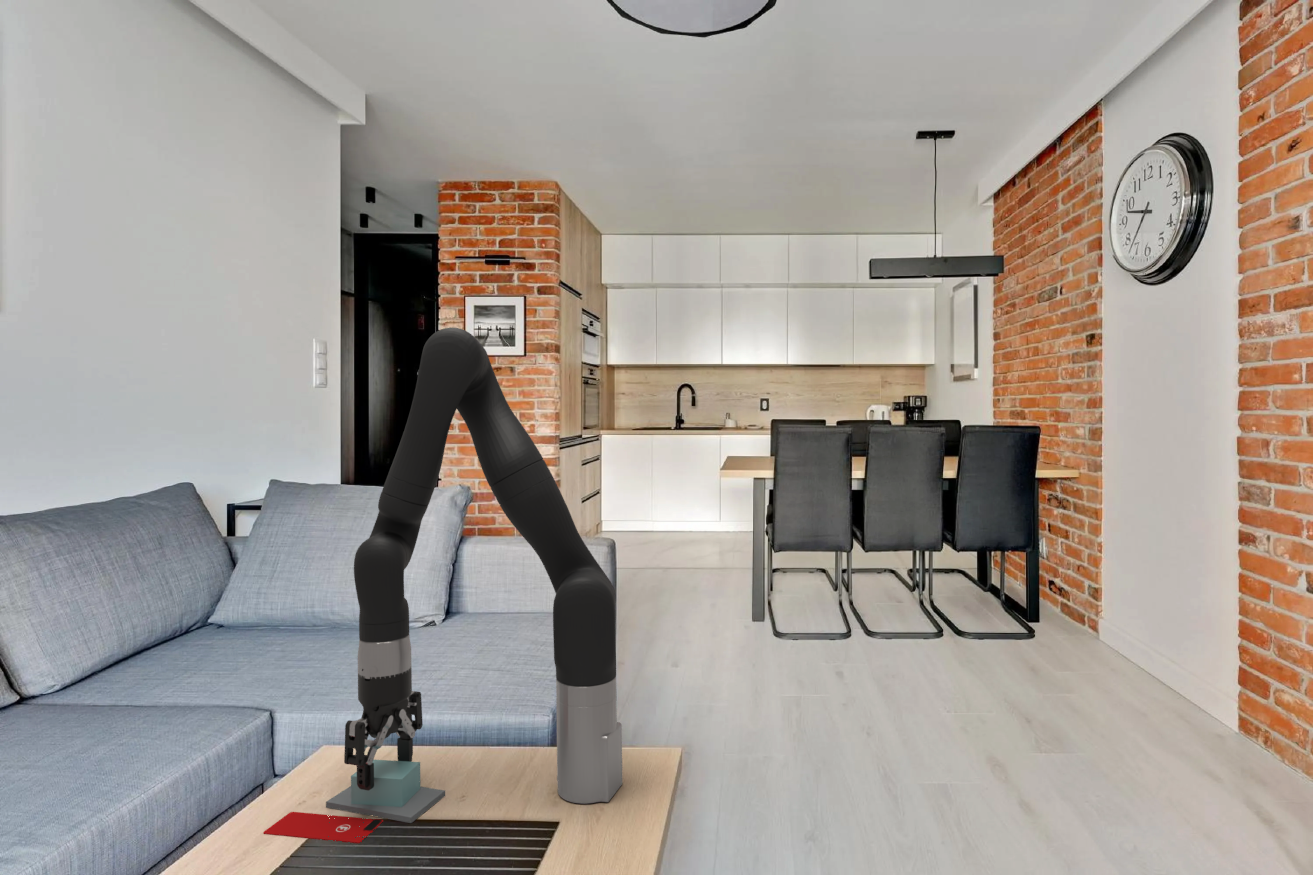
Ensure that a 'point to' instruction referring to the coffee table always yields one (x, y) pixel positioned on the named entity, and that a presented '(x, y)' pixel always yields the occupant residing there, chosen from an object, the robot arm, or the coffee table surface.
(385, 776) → the teal rectangular block
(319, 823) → the electronic device
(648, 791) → the coffee table surface
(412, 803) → the mat
